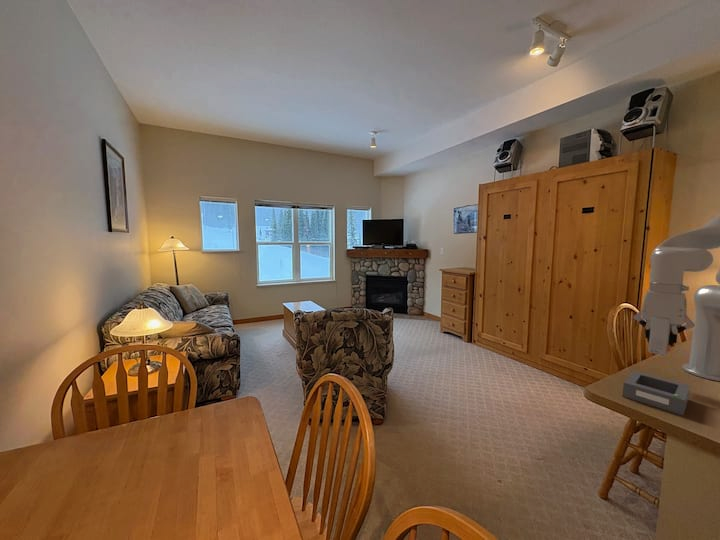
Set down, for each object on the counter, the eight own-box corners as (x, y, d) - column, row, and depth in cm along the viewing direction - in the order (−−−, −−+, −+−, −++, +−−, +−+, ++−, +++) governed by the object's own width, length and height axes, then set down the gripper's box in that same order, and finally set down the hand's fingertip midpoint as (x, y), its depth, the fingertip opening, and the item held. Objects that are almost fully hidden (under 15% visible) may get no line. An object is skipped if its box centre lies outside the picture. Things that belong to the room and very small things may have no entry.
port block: (631, 383, 103) (633, 369, 102) (688, 399, 93) (690, 384, 92) (622, 396, 95) (623, 381, 94) (683, 416, 85) (685, 399, 84)
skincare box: (665, 356, 98) (669, 320, 97) (647, 352, 102) (650, 317, 100) (671, 351, 102) (674, 316, 100) (653, 347, 105) (656, 313, 104)
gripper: (705, 289, 95) (699, 346, 97) (633, 283, 108) (629, 333, 110) (703, 293, 90) (697, 353, 92) (628, 286, 103) (624, 339, 106)
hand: (660, 342), depth 101 cm, fingers closed on skincare box, 4 cm apart
